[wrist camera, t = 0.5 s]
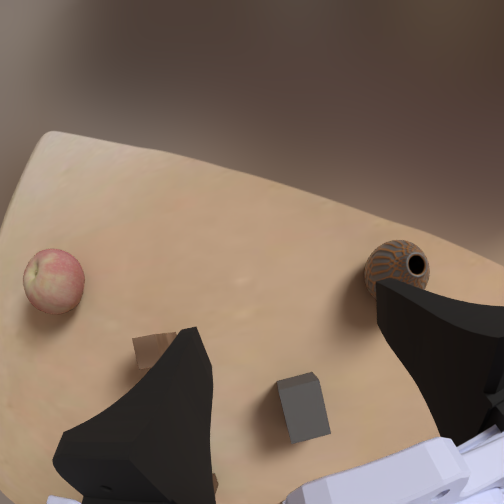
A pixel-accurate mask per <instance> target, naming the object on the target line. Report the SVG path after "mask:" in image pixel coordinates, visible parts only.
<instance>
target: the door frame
mask: <svg viewBox="0 0 504 504" xmlns="http://www.w3.org/2000/svg"><path fill="white" fill-rule="evenodd" d="M176 336H177V335H176V332H173V333H163V334H154V335H149V336H143V337H138V338H132V340H133V345H134V350H135V354H136V358H137V363H138V367H139V369H144V368H151V367H153V366H154V364H155V363H156V362H157V361H158V360H159V358H160V357H161V356H162V355H163V353H164V352H165V351H166V349H167V348H168V347H169V345H170V344H171V343H172V341H173V340H174V339H175V337H176ZM212 476H213V485H214V493H216V490H217V487H218V482H217V479H216V476H215V473H214V474H212Z"/></svg>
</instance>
